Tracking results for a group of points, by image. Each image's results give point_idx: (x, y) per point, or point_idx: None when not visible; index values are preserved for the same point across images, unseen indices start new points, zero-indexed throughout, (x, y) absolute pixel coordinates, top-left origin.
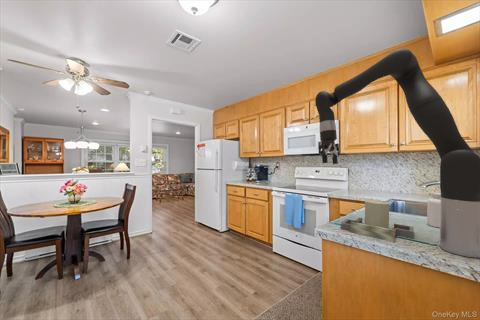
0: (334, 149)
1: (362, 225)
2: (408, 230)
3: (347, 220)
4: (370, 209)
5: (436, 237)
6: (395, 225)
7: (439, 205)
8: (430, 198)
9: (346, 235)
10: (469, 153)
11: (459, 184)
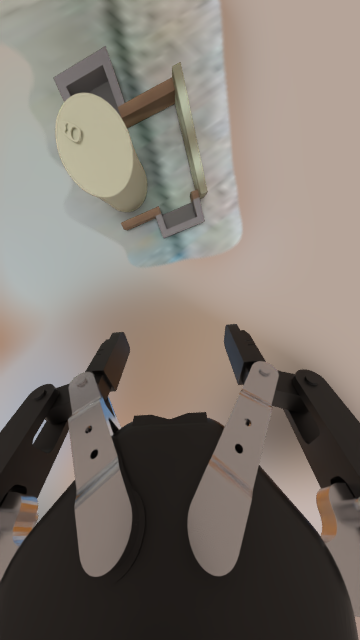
0: (110, 433)
1: (200, 161)
2: (104, 67)
3: (173, 227)
4: (137, 165)
5: (32, 17)
6: None
7: None
8: None
9: (229, 188)
10: None
11: None
